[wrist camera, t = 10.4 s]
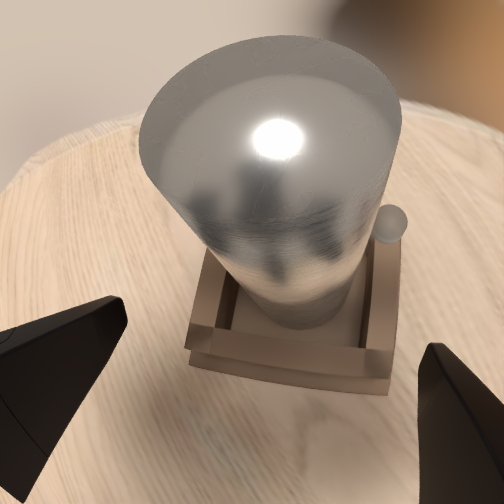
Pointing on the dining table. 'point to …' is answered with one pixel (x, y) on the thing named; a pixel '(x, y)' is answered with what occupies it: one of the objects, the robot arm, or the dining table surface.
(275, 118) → the grey cylinder
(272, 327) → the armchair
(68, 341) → the robot arm
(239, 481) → the dining table surface
